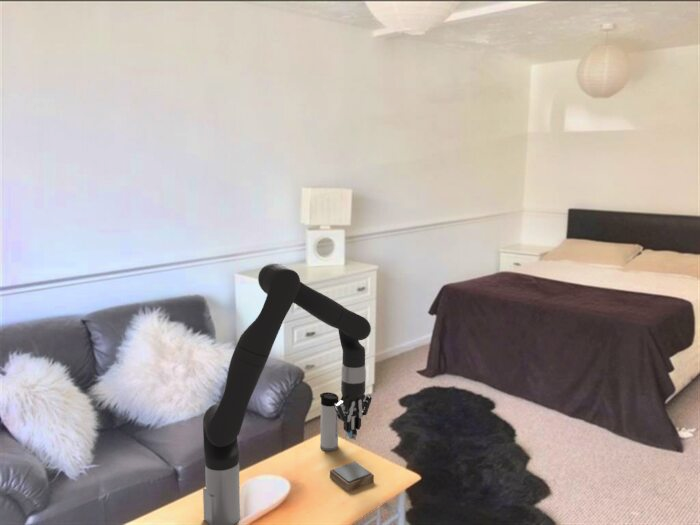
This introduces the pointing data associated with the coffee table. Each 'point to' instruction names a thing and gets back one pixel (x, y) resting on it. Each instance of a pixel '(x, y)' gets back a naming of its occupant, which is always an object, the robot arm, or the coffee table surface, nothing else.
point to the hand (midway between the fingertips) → (352, 429)
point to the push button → (352, 424)
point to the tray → (351, 476)
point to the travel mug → (329, 422)
